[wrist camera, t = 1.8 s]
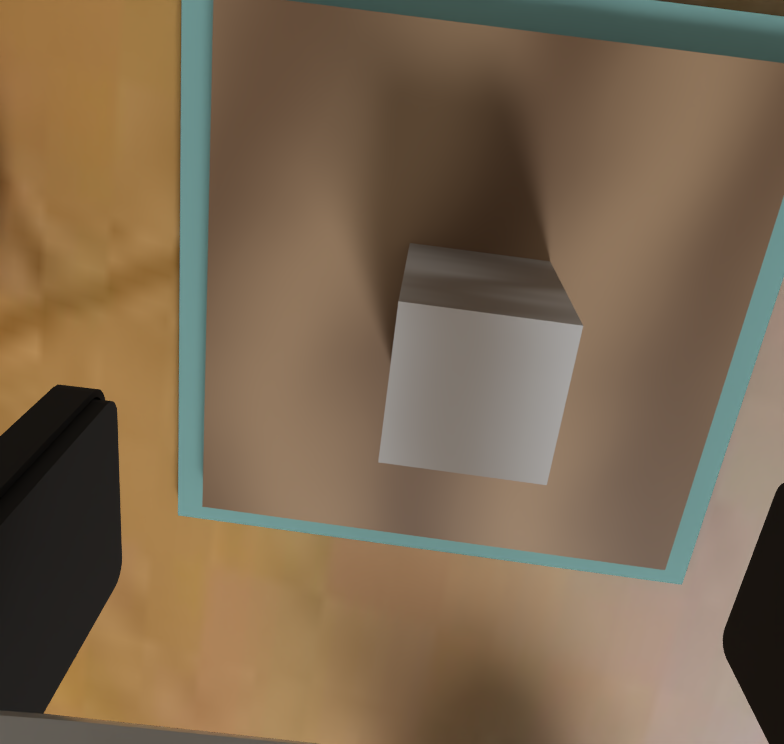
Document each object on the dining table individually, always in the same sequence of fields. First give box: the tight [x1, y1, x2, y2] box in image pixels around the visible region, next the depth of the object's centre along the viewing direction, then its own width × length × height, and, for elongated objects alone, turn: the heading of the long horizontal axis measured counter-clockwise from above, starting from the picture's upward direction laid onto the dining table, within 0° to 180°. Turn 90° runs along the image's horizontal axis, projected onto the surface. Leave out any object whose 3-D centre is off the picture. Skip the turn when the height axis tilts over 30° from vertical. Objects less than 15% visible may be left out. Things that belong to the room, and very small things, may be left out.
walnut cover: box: [202, 0, 784, 570], centre depth 18 cm, size 14×14×6 cm
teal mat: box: [178, 0, 784, 585], centre depth 21 cm, size 16×16×1 cm
